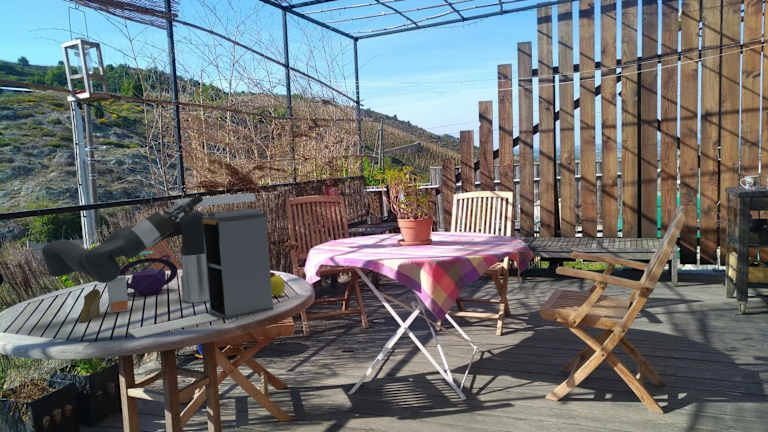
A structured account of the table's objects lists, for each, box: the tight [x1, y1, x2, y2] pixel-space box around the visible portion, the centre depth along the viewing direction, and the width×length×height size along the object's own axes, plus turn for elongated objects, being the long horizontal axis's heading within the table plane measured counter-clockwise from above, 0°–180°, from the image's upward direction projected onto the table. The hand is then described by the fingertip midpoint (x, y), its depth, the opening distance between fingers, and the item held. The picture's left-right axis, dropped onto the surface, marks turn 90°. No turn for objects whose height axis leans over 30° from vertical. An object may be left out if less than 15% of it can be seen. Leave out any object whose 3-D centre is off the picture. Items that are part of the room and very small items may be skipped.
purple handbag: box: [119, 246, 178, 297], centre depth 213 cm, size 22×21×25 cm
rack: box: [202, 208, 274, 320], centre depth 178 cm, size 17×14×33 cm
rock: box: [78, 288, 101, 323], centre depth 180 cm, size 10×8×10 cm
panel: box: [176, 192, 256, 207], centre depth 173 cm, size 24×4×2 cm, turn 129°
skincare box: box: [106, 274, 130, 314], centre depth 188 cm, size 6×4×12 cm
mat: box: [127, 312, 219, 339], centre depth 166 cm, size 24×9×1 cm, turn 129°
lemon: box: [271, 274, 285, 298], centre depth 196 cm, size 6×6×8 cm
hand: (198, 197), depth 169 cm, fingers closed on panel, 4 cm apart
